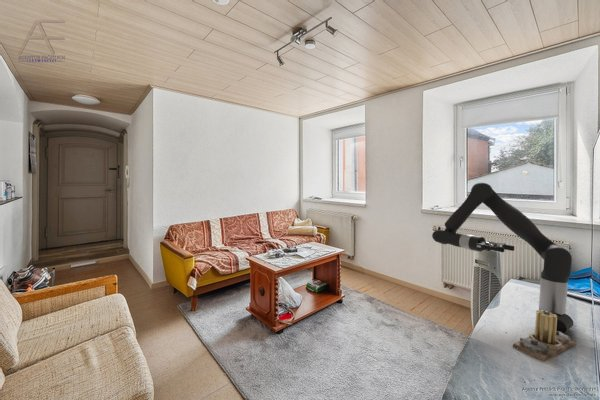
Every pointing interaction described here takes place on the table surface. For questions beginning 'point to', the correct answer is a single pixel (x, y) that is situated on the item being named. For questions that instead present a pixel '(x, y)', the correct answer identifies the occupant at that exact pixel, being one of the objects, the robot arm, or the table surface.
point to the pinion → (546, 327)
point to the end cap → (563, 322)
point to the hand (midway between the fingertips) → (509, 249)
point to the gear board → (551, 351)
